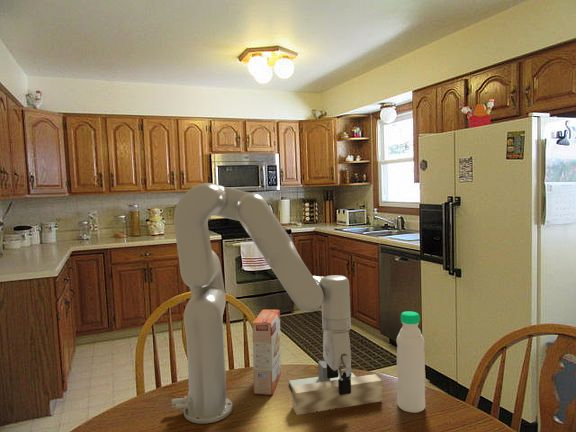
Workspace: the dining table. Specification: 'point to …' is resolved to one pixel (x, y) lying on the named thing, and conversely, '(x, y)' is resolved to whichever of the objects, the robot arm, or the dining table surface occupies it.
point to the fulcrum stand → (322, 377)
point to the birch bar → (336, 394)
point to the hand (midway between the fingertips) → (338, 385)
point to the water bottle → (410, 364)
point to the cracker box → (266, 351)
